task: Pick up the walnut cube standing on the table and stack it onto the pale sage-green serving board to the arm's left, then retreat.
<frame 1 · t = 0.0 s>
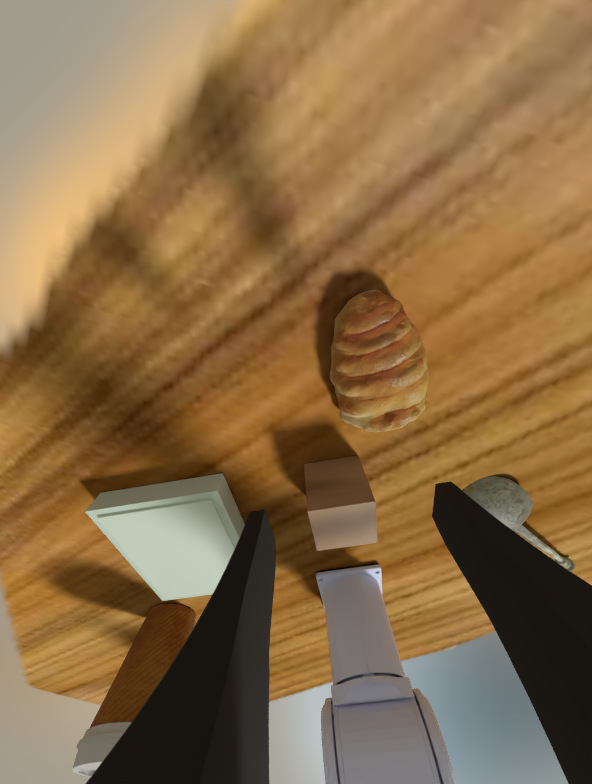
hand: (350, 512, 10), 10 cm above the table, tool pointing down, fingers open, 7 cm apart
disposable coffee cup: (173, 612, 35), on the table
walnut block: (333, 478, 24), on the table
soupspoon: (515, 522, 29), on the table
serving board: (192, 535, 27), on the table
pastry: (368, 364, 19), on the table
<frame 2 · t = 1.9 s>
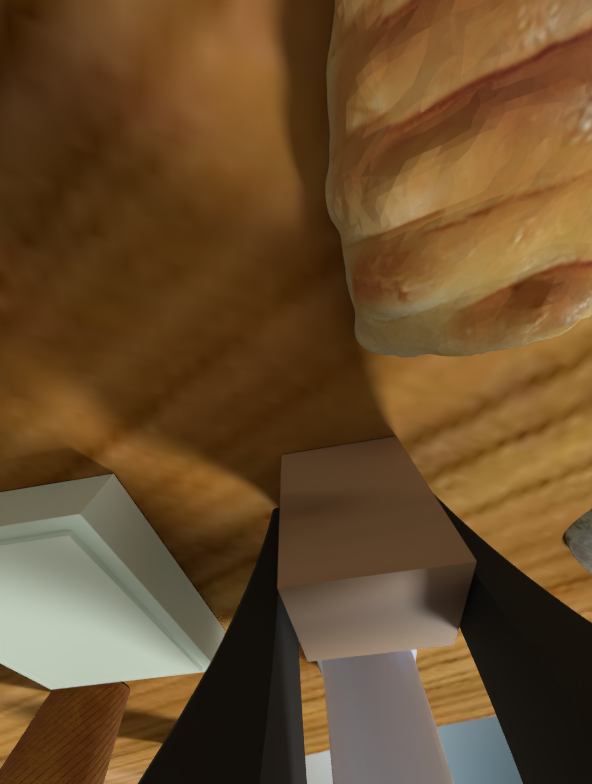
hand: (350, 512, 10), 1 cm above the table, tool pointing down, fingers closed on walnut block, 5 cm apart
disposable coffee cup: (95, 684, 23), on the table
walnut block: (343, 486, 12), on the table, touching gripper
serving board: (88, 584, 15), on the table
pastry: (427, 194, 7), on the table
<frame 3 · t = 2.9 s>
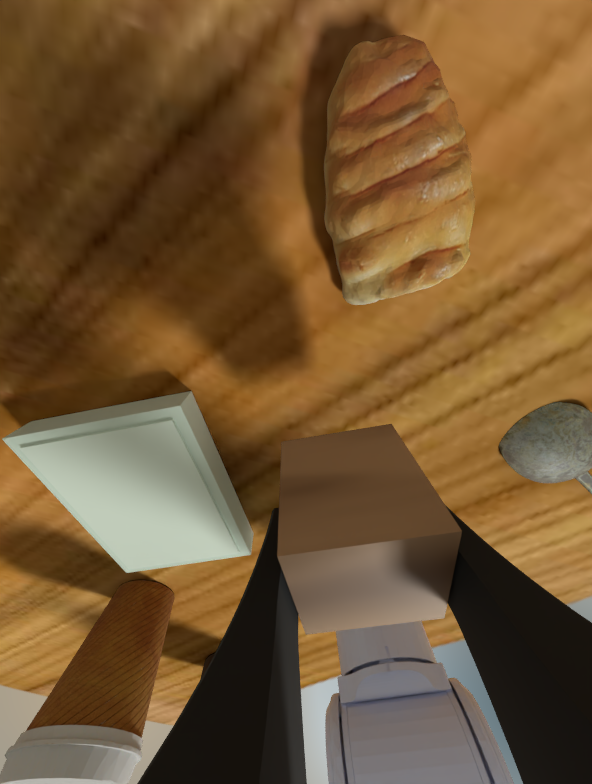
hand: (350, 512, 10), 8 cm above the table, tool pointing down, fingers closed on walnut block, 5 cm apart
disposable coffee cup: (147, 592, 29), on the table
walnut block: (341, 473, 12), point 6 cm above the table, touching gripper
soupspoon: (571, 475, 23), on the table
serving board: (159, 486, 21), on the table
pastry: (380, 215, 13), on the table
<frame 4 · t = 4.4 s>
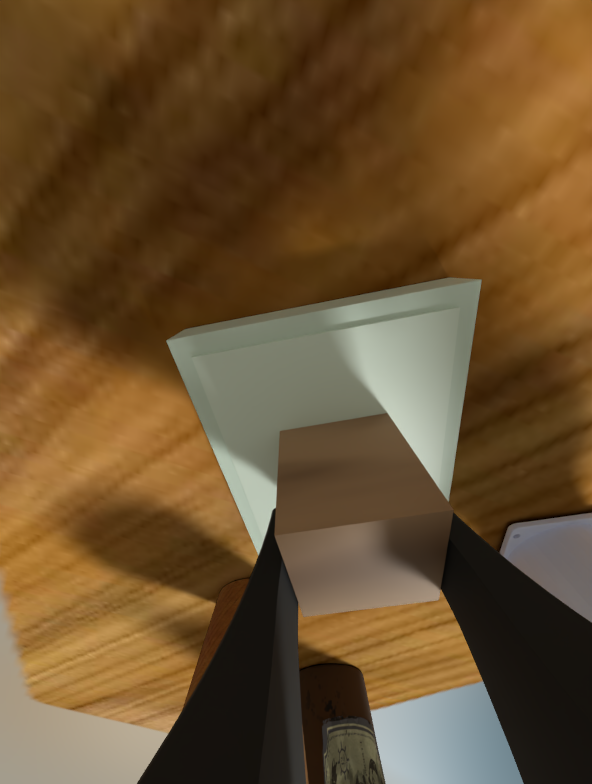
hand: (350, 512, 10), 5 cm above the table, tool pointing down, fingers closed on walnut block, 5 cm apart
disposable coffee cup: (254, 593, 23), on the table
walnut block: (338, 462, 12), point 2 cm above the table, touching gripper, serving board
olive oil: (327, 674, 32), on the table
serving board: (333, 443, 15), on the table
when the fingers open (5 cm above the table, at t = 4.9 s): walnut block stays where it is, resting on serving board.
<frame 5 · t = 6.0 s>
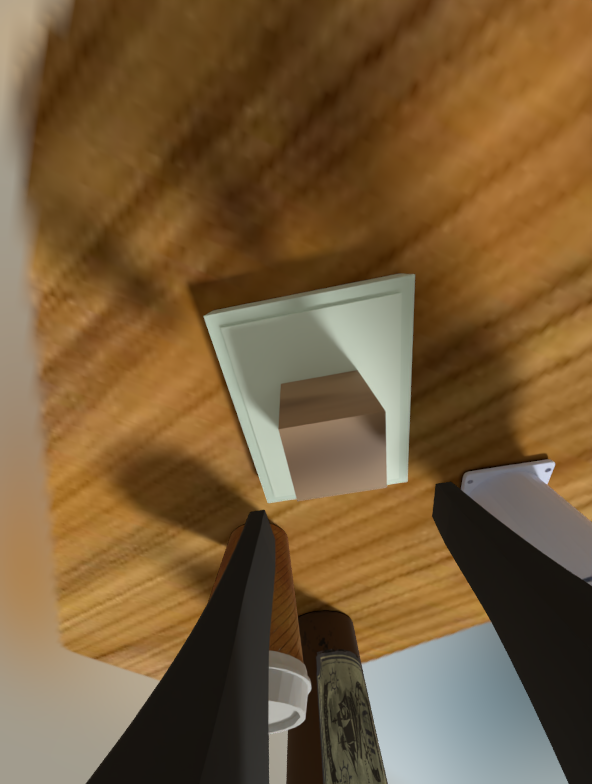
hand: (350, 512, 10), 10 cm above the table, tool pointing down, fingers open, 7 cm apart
disposable coffee cup: (259, 538, 27), on the table
walnut block: (323, 409, 17), point 2 cm above the table, touching serving board
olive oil: (321, 623, 37), on the table
serving board: (321, 400, 19), on the table
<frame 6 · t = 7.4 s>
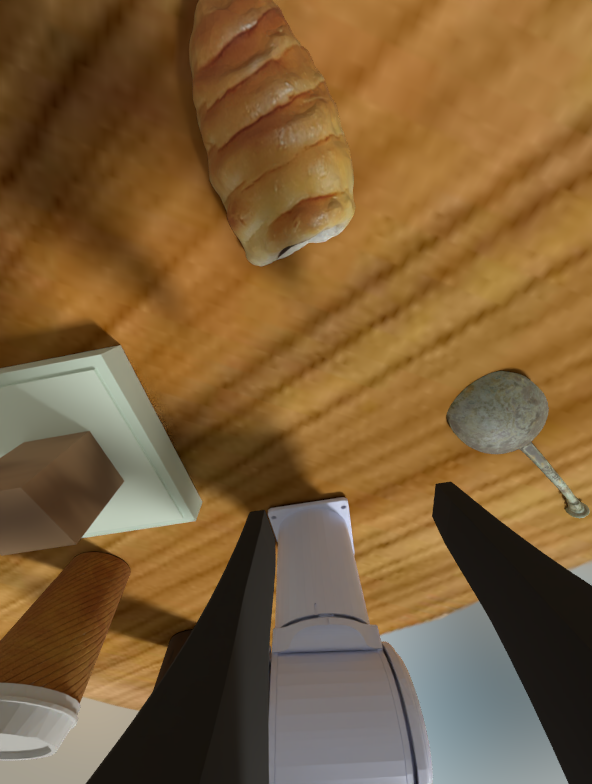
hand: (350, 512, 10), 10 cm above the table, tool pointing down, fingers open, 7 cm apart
disposable coffee cup: (103, 565, 29), on the table
walnut block: (76, 462, 19), point 2 cm above the table, touching serving board
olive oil: (202, 640, 38), on the table
soupspoon: (522, 450, 23), on the table
serving board: (100, 449, 21), on the table
pastry: (274, 175, 13), on the table
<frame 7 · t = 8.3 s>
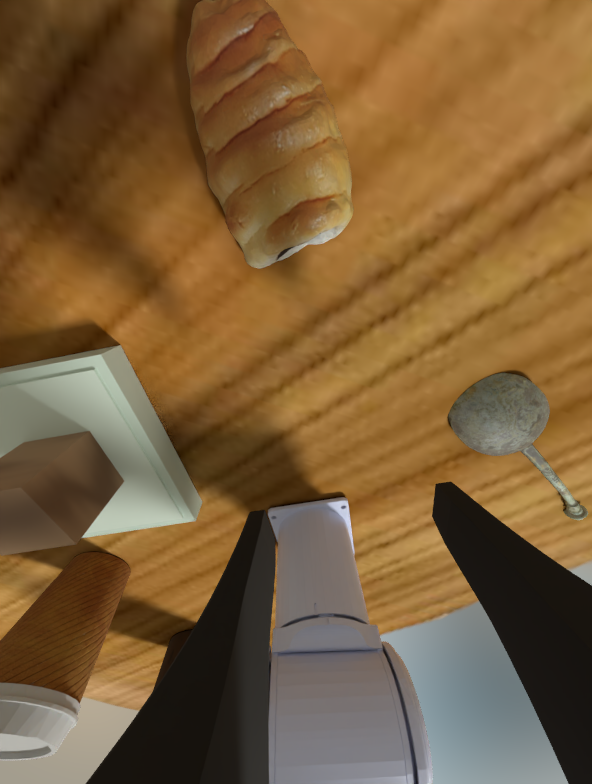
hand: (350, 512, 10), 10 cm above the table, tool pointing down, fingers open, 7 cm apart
disposable coffee cup: (103, 565, 29), on the table
walnut block: (76, 462, 19), point 2 cm above the table, touching serving board
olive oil: (202, 640, 38), on the table
soupspoon: (522, 452, 23), on the table
serving board: (100, 449, 21), on the table
pastry: (273, 178, 13), on the table
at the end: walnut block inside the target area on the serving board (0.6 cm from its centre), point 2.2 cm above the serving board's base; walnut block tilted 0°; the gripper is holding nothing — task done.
